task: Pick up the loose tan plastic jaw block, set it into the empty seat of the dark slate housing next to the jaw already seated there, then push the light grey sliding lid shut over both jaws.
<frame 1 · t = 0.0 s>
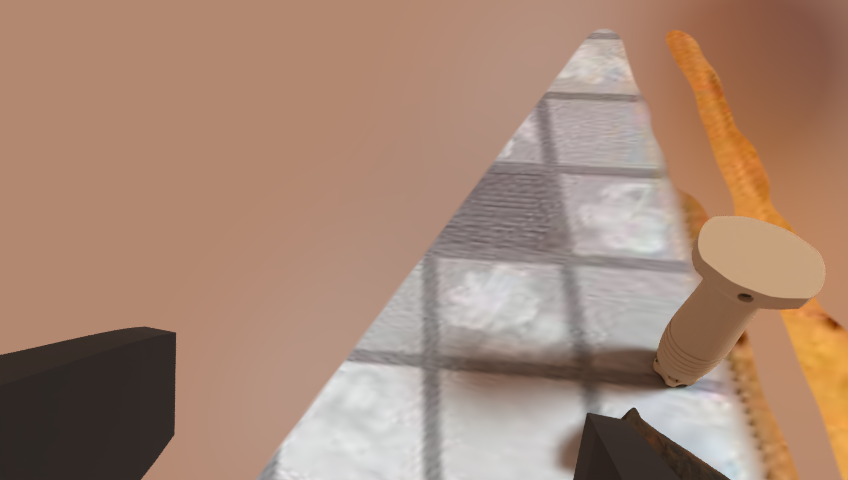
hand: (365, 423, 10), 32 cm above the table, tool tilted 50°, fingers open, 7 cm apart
handle: (673, 370, 45), on the table
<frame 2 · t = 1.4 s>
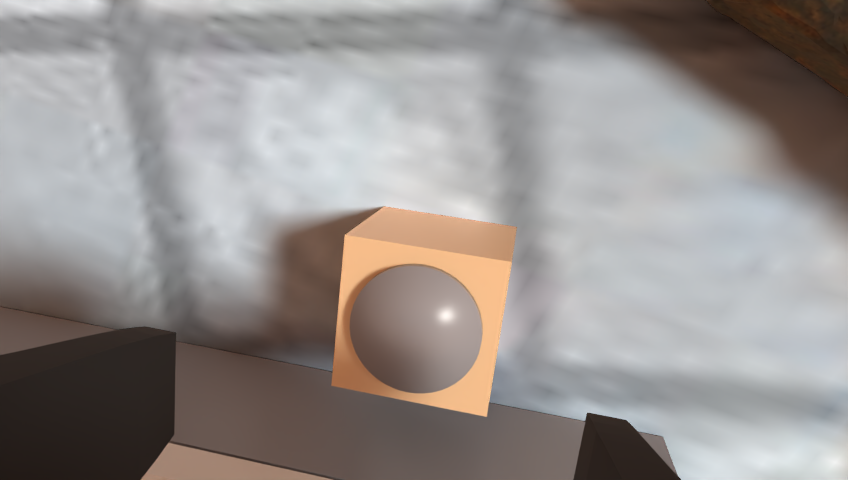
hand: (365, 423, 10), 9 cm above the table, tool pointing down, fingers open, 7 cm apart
jaw B: (441, 279, 19), on the table
brown log: (831, 2, 15), on the table
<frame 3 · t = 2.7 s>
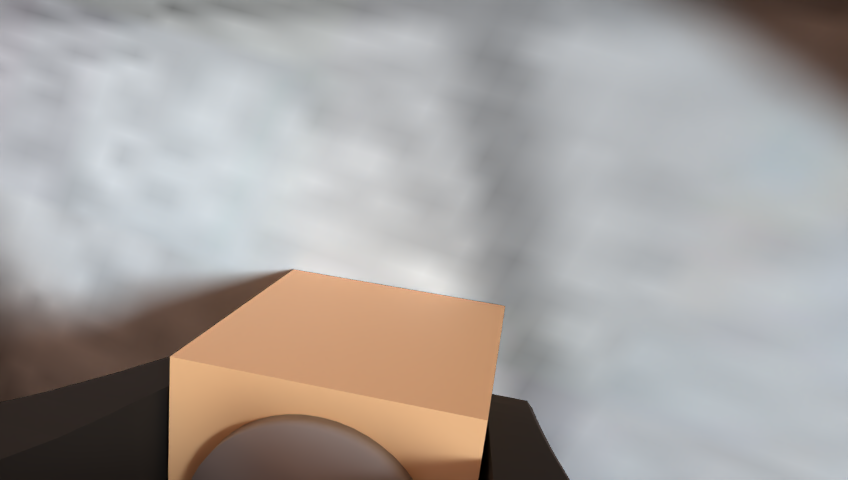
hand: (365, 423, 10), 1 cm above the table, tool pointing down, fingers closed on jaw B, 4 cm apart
jaw B: (385, 385, 12), on the table, touching gripper
when the fingers open (3 cm above the table, at t = 6.1 s): jaw B stays where it is, resting on housing.
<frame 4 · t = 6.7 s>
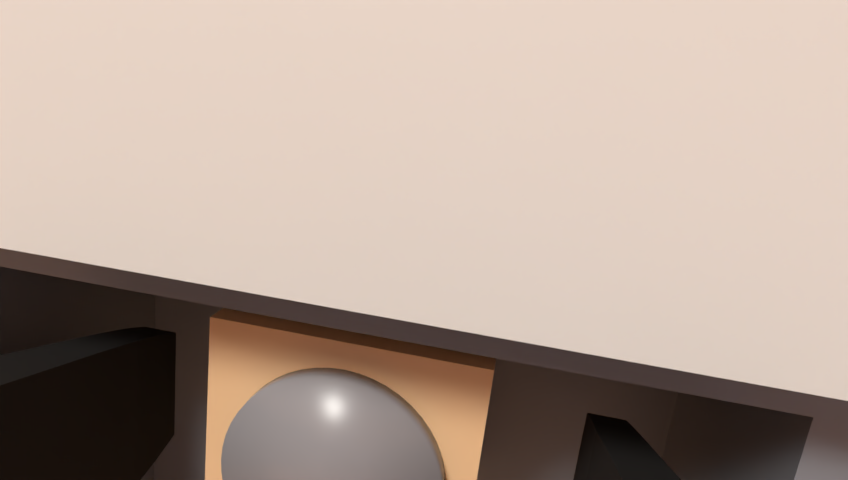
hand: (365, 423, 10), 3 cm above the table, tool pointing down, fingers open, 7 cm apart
jaw B: (396, 356, 12), resting on housing
housing: (388, 470, 14), on the table
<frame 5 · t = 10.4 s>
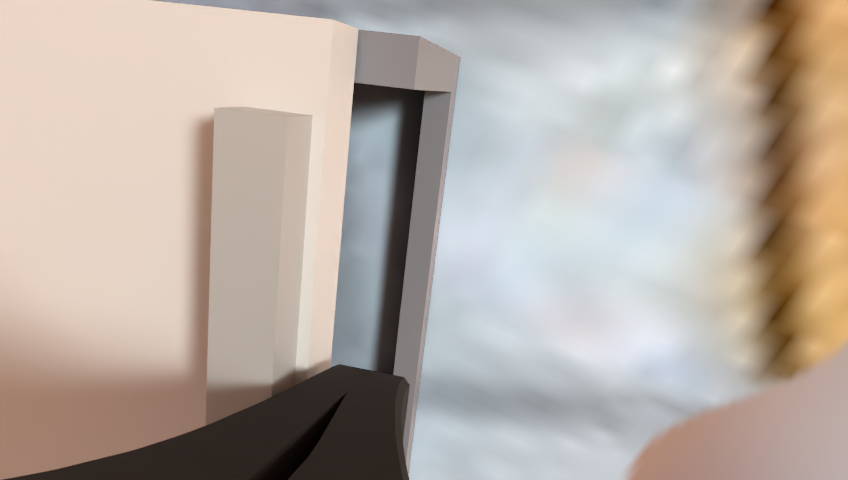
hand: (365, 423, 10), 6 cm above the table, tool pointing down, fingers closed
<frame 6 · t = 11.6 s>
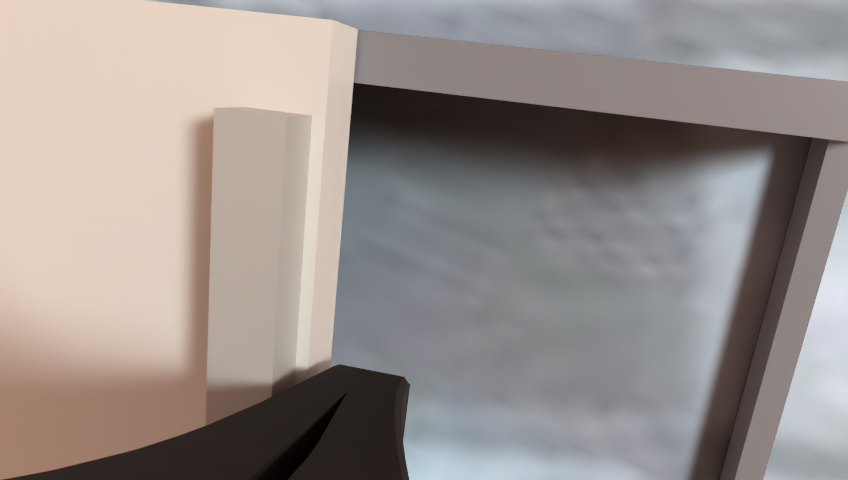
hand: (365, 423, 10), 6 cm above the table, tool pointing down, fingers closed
housing: (60, 244, 17), on the table
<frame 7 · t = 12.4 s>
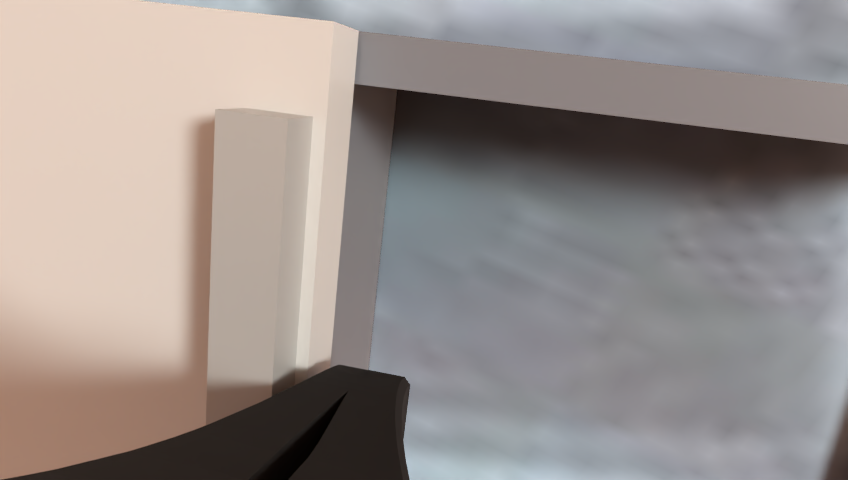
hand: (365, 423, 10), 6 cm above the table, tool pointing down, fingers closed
housing: (157, 261, 17), on the table
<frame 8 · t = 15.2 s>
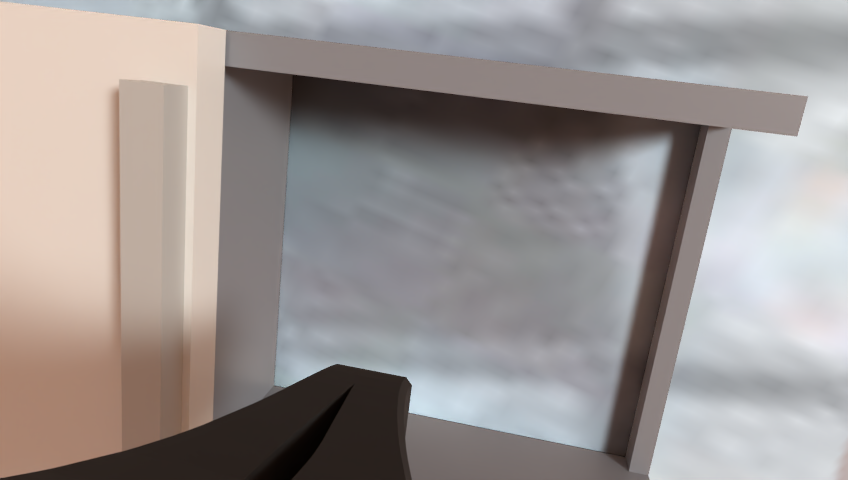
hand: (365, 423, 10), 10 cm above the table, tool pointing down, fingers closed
housing: (115, 211, 21), on the table
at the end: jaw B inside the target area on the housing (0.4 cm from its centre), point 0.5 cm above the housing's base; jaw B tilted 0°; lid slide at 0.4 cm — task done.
